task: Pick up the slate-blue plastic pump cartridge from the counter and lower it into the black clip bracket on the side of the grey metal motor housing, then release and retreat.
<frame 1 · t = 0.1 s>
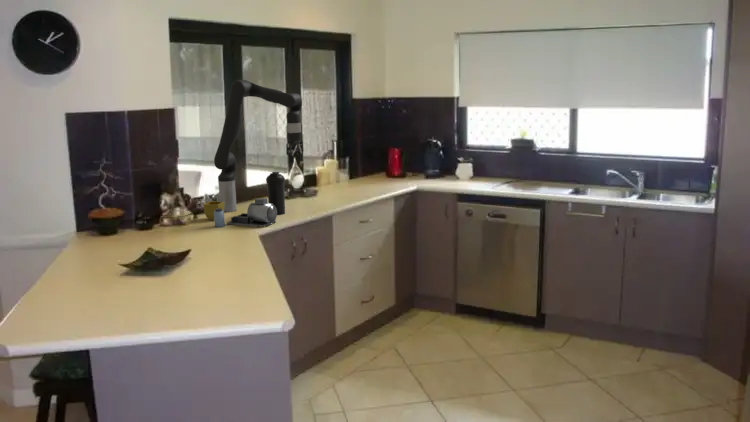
hand: (295, 161, 377), 29 cm above the counter, fingers open, 8 cm apart
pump: (219, 226, 358), on the counter
water bottle: (277, 214, 387), on the counter
flower pot: (214, 219, 376), on the counter
motor: (253, 223, 363), on the counter
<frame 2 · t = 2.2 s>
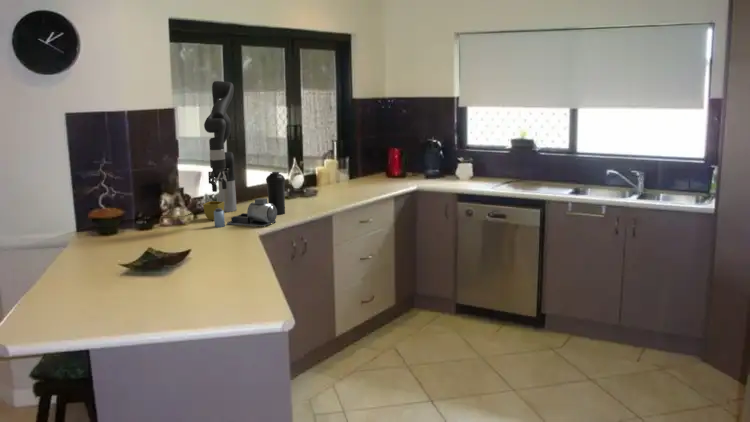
hand: (219, 190, 355), 19 cm above the counter, fingers open, 8 cm apart
nothing on the counter moved.
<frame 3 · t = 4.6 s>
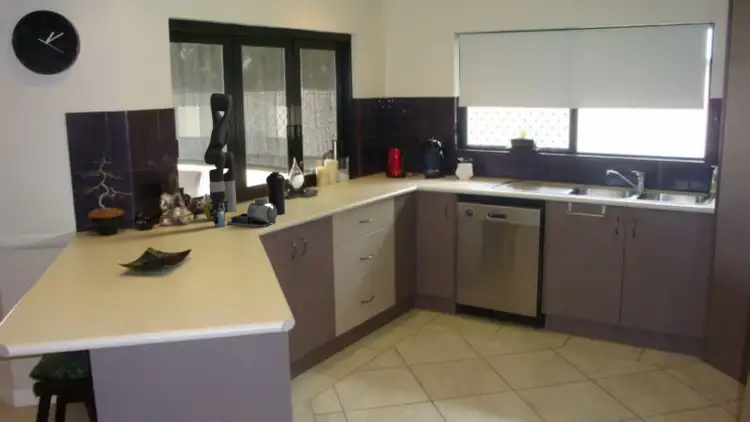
hand: (219, 222, 358), 2 cm above the counter, fingers closed on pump, 5 cm apart
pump: (219, 226, 358), on the counter, touching gripper
everything else where it was.
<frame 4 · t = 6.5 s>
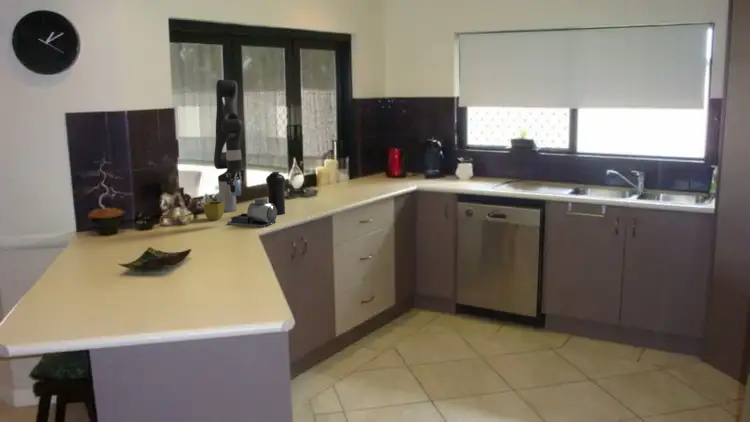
hand: (236, 191, 360), 17 cm above the counter, fingers closed on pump, 5 cm apart
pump: (236, 195, 361), point 15 cm above the counter, touching gripper
everything else where it was.
when the fingers open (5 cm above the counter, at t = 8.7 s): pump drops 2 cm, resting on motor.
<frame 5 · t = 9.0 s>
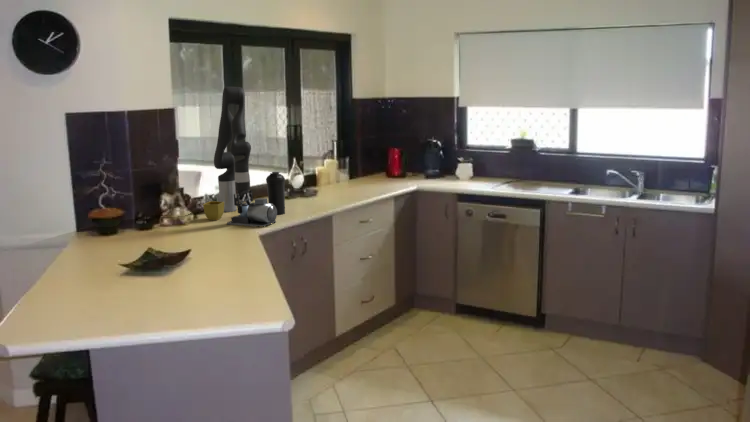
hand: (244, 211, 364), 6 cm above the counter, fingers open, 7 cm apart
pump: (245, 220, 365), point 1 cm above the counter, touching motor
everything else where it was.
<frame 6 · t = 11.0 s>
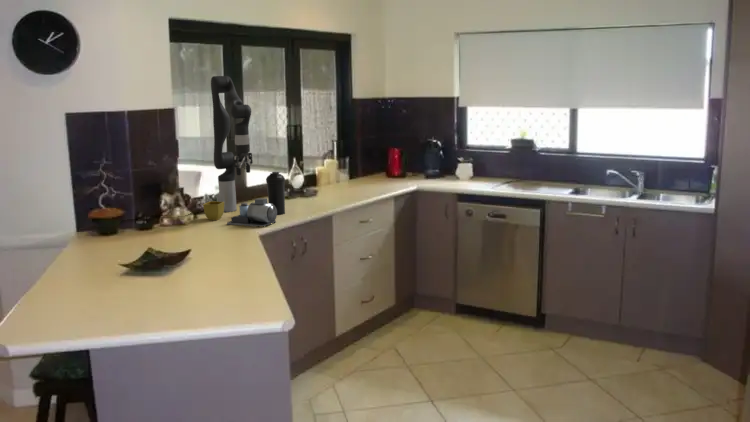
hand: (243, 173, 369), 24 cm above the counter, fingers open, 8 cm apart
nothing on the counter moved.
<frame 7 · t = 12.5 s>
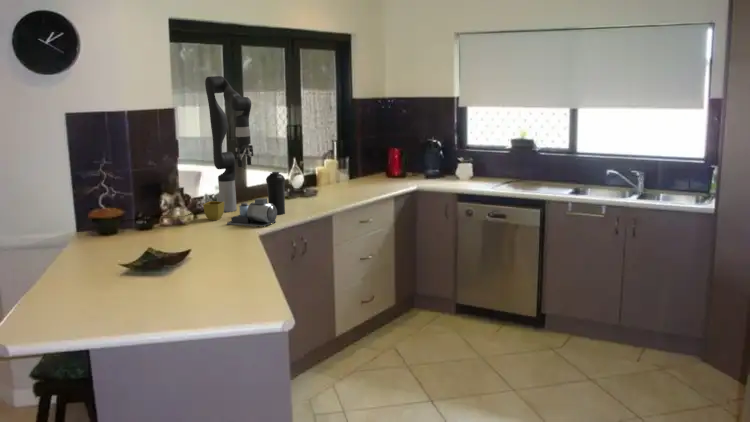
hand: (244, 165, 373), 28 cm above the counter, fingers open, 8 cm apart
nothing on the counter moved.
at the end: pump 0.2 cm from the target spot on the motor, point 1.1 cm above the motor's base; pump tilted 2°; the gripper is holding nothing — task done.
